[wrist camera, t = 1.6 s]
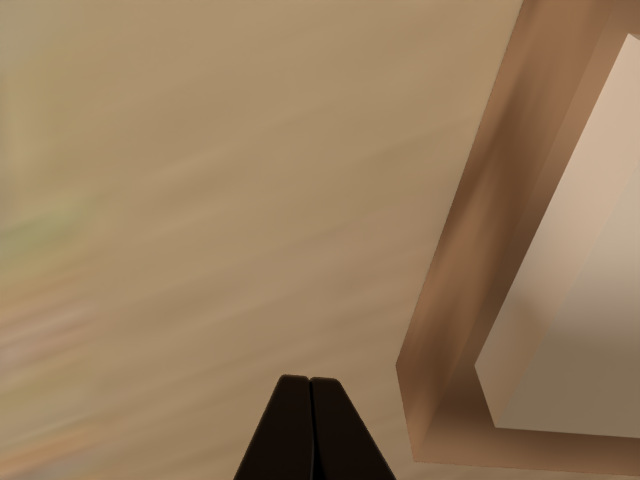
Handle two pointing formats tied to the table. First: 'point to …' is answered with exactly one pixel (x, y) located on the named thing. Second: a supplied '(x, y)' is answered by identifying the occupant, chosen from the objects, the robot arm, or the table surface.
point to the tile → (579, 286)
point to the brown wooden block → (509, 241)
